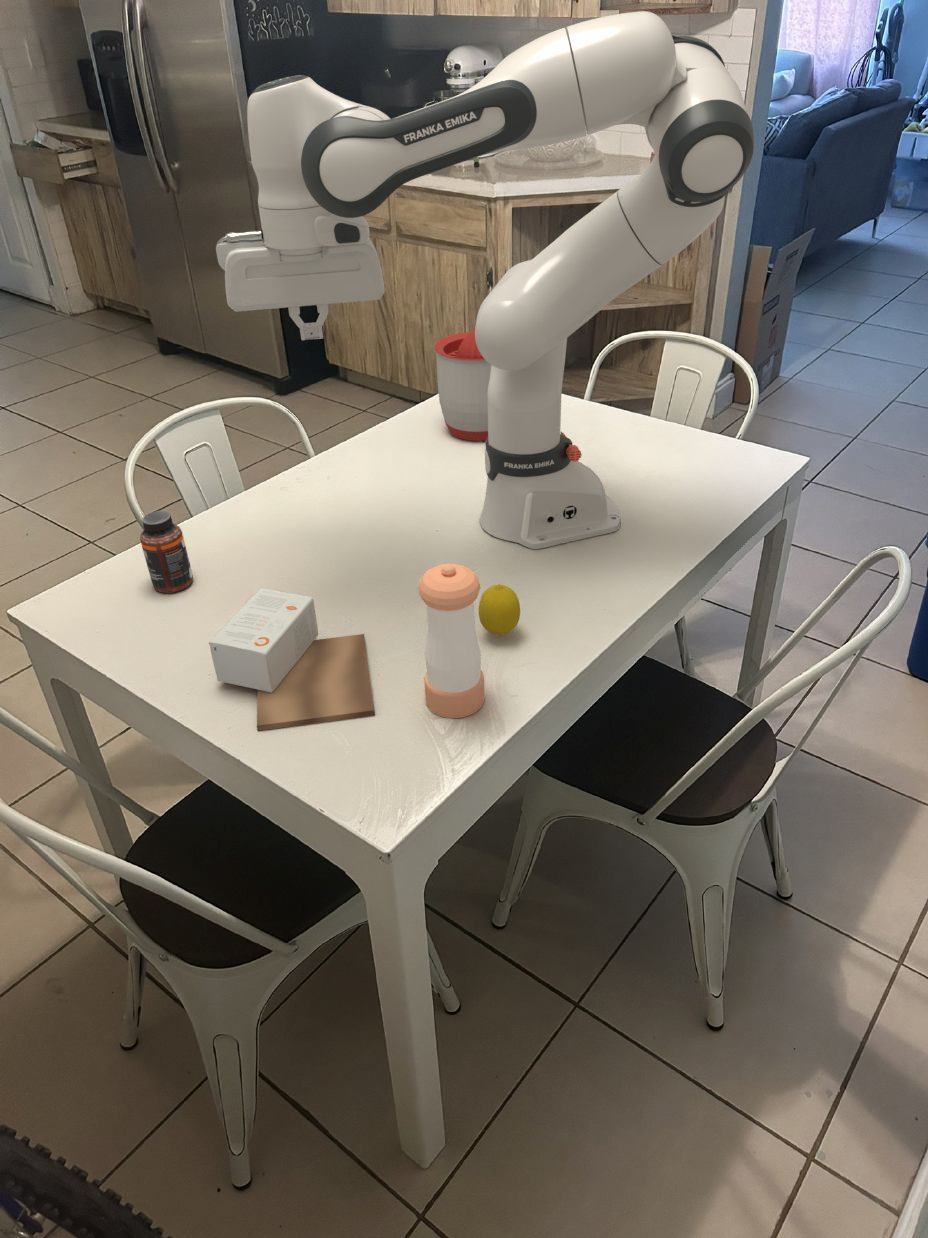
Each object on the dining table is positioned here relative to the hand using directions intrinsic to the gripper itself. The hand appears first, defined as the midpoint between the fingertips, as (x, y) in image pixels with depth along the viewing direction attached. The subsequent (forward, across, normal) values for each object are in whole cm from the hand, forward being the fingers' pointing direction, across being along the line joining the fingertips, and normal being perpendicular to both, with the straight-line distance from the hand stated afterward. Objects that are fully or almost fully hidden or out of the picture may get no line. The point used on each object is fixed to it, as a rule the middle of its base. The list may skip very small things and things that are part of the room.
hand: (312, 338), depth 123 cm
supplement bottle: (+34, -25, -2) cm, 42 cm away
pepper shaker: (+34, +12, -37) cm, 52 cm away
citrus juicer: (+34, +30, +42) cm, 62 cm away
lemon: (+34, +20, -25) cm, 47 cm away
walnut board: (+34, -5, -30) cm, 46 cm away
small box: (+30, -7, -19) cm, 36 cm away
